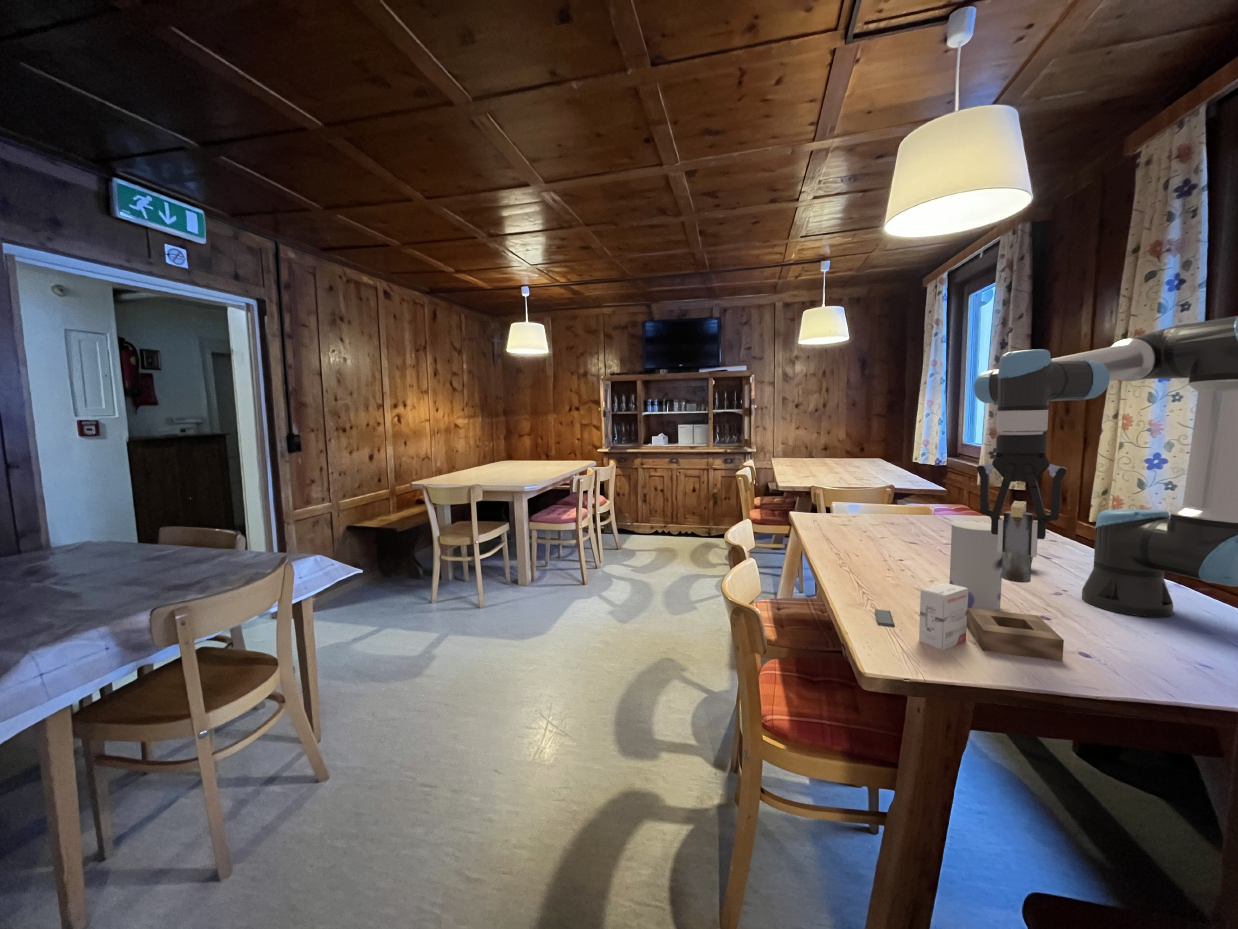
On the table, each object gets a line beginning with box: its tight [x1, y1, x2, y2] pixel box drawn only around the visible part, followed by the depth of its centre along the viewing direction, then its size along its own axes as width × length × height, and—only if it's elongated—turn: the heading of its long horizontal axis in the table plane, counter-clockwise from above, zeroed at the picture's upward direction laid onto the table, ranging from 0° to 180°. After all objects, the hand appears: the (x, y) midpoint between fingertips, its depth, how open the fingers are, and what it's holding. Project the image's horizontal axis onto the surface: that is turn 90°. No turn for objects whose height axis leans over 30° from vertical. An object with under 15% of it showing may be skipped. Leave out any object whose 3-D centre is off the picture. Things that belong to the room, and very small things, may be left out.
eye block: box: [966, 608, 1065, 662], centre depth 97 cm, size 12×12×5 cm
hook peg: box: [1002, 500, 1034, 584], centre depth 95 cm, size 8×4×15 cm, turn 137°
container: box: [949, 520, 1003, 611], centre depth 117 cm, size 10×10×20 cm
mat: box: [874, 608, 896, 628], centre depth 111 cm, size 8×8×1 cm
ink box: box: [918, 582, 968, 651], centre depth 98 cm, size 9×5×12 cm, turn 118°
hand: (1016, 552), depth 96 cm, fingers closed on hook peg, 4 cm apart
